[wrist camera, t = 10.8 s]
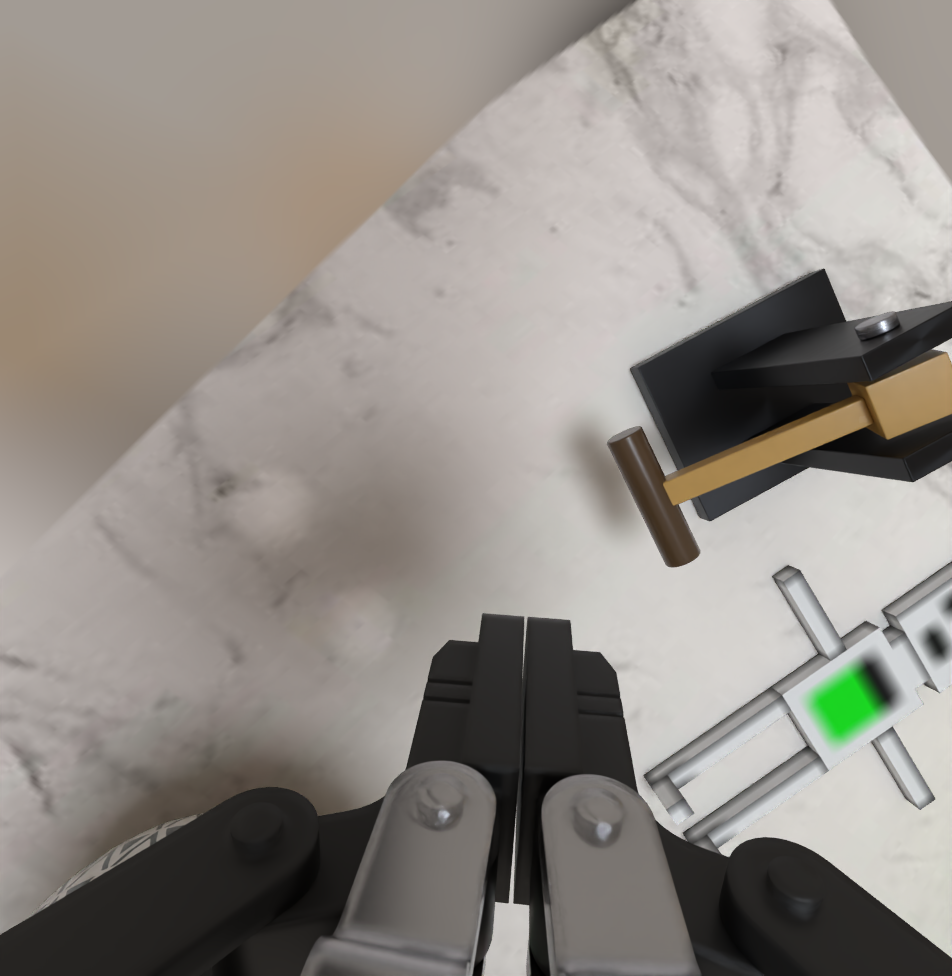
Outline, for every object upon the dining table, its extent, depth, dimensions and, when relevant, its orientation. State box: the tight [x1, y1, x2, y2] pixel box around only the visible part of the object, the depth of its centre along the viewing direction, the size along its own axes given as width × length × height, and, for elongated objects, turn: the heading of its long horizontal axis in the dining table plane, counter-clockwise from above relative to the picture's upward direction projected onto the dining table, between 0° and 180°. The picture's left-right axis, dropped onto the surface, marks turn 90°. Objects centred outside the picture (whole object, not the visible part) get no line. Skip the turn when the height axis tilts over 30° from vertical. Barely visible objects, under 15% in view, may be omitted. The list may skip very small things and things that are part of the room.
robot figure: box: [644, 562, 952, 855], centre depth 38 cm, size 16×3×22 cm
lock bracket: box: [631, 269, 952, 521], centre depth 30 cm, size 11×9×13 cm
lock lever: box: [607, 349, 952, 567], centre depth 27 cm, size 12×6×2 cm, turn 118°
